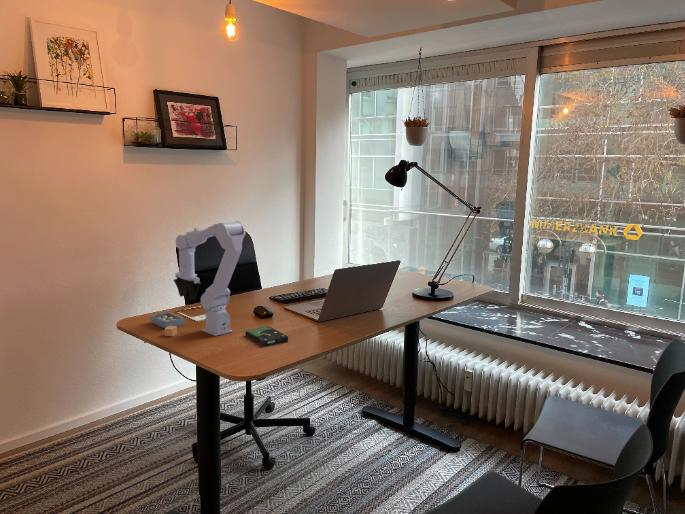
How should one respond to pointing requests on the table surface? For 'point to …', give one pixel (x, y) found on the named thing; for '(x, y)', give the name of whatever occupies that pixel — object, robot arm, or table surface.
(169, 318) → the tub
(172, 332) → the lid
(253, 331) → the disk drive
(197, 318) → the photo frame
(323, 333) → the table surface
